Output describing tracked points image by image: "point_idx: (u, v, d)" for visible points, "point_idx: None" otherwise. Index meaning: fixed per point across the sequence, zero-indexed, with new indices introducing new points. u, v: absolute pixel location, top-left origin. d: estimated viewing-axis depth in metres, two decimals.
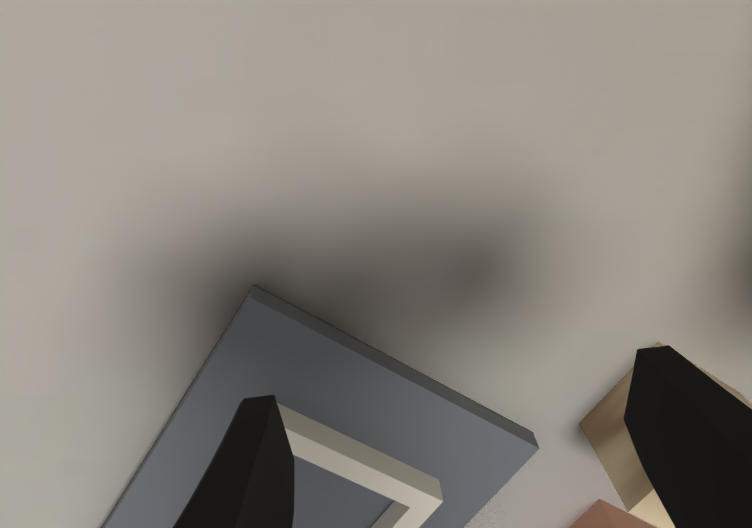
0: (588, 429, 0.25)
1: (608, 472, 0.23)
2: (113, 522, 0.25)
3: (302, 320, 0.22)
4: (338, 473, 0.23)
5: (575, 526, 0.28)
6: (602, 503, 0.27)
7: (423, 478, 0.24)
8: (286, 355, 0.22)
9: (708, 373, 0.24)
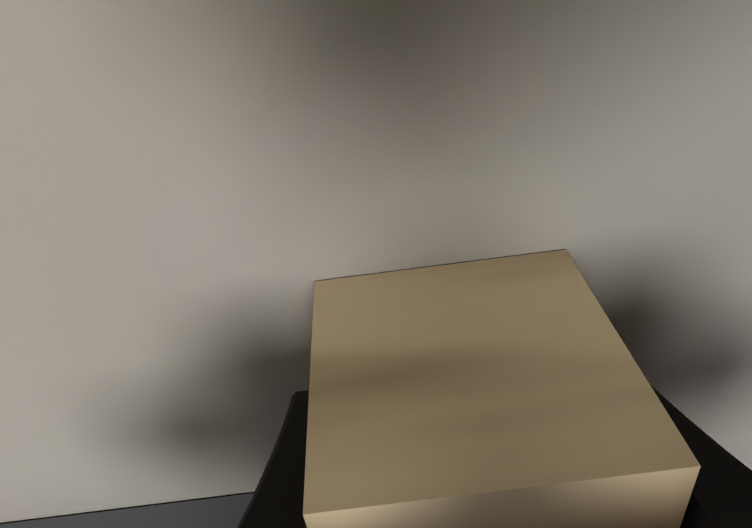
0: None
1: None
2: None
3: None
4: None
5: None
6: None
7: None
8: None
9: (463, 267, 0.11)
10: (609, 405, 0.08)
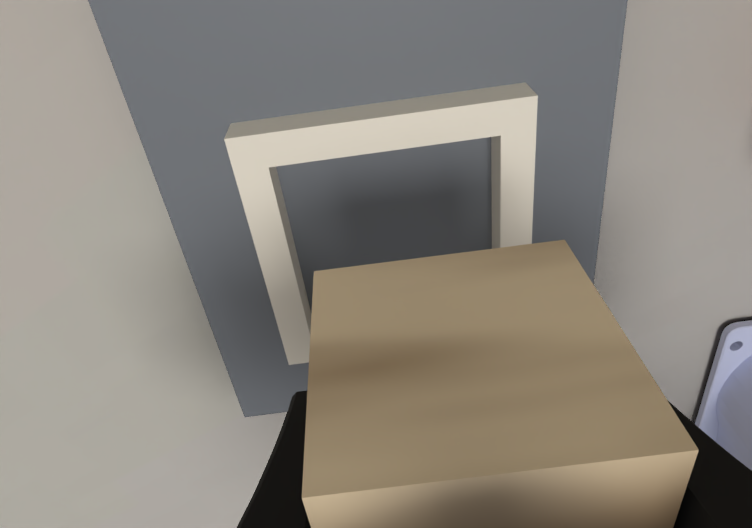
0: None
1: None
2: (232, 368, 0.22)
3: None
4: (373, 152, 0.16)
5: None
6: None
7: (497, 90, 0.16)
8: (198, 47, 0.15)
9: (463, 257, 0.11)
10: (608, 391, 0.08)
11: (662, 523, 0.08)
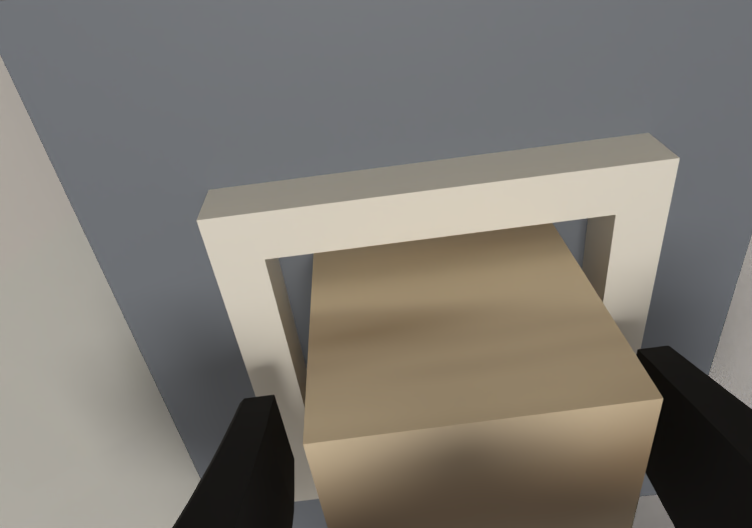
0: None
1: None
2: None
3: None
4: (423, 237, 0.11)
5: None
6: None
7: (610, 146, 0.11)
8: (156, 79, 0.10)
9: (453, 235, 0.12)
10: (583, 350, 0.09)
11: (634, 469, 0.09)
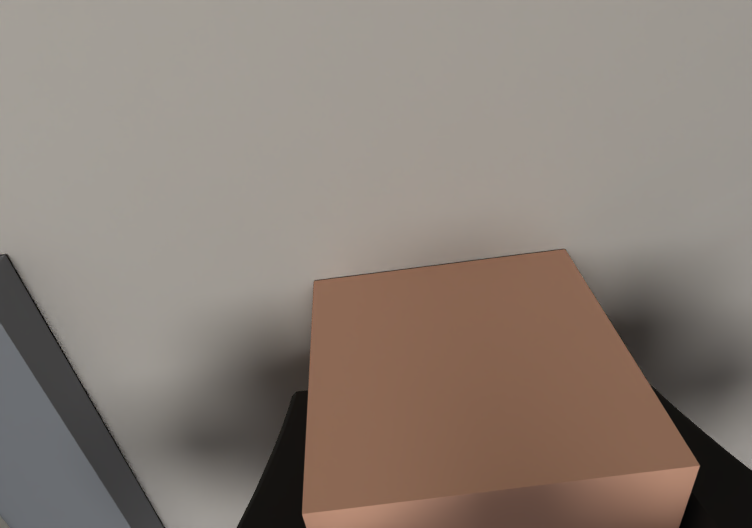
0: None
1: None
2: None
3: None
4: None
5: None
6: (314, 290, 0.11)
7: None
8: None
9: None
10: None
11: None
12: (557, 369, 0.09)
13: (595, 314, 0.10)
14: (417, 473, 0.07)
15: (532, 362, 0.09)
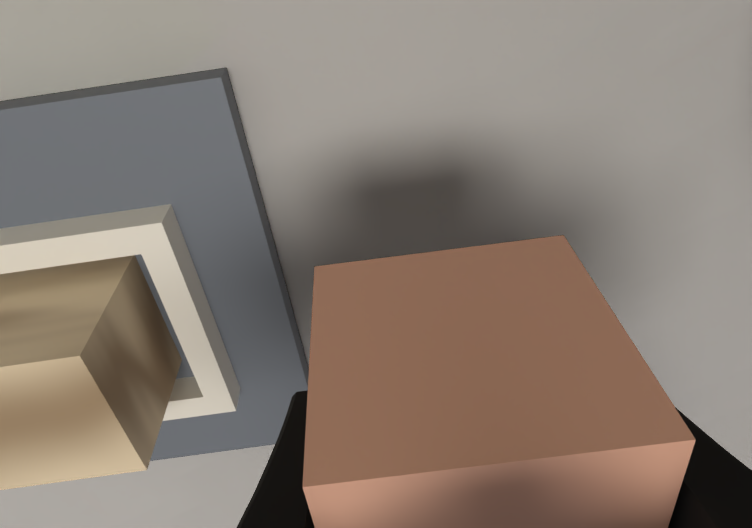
0: None
1: None
2: None
3: None
4: (31, 268, 0.18)
5: None
6: (314, 275, 0.11)
7: (140, 213, 0.18)
8: None
9: (73, 265, 0.19)
10: (70, 332, 0.16)
11: (97, 396, 0.16)
12: (555, 349, 0.09)
13: (593, 296, 0.10)
14: (416, 448, 0.07)
15: (530, 343, 0.09)
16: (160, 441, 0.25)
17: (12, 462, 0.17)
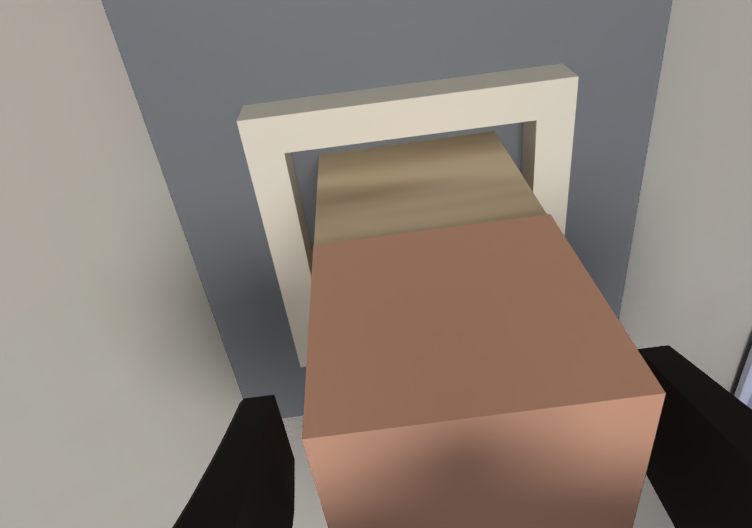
0: None
1: None
2: (238, 370, 0.21)
3: None
4: (398, 137, 0.15)
5: None
6: (313, 253, 0.12)
7: (533, 71, 0.15)
8: (209, 20, 0.14)
9: (422, 143, 0.16)
10: (503, 198, 0.13)
11: None
12: (539, 316, 0.09)
13: (576, 269, 0.10)
14: (408, 405, 0.08)
15: (516, 311, 0.09)
16: None
17: None
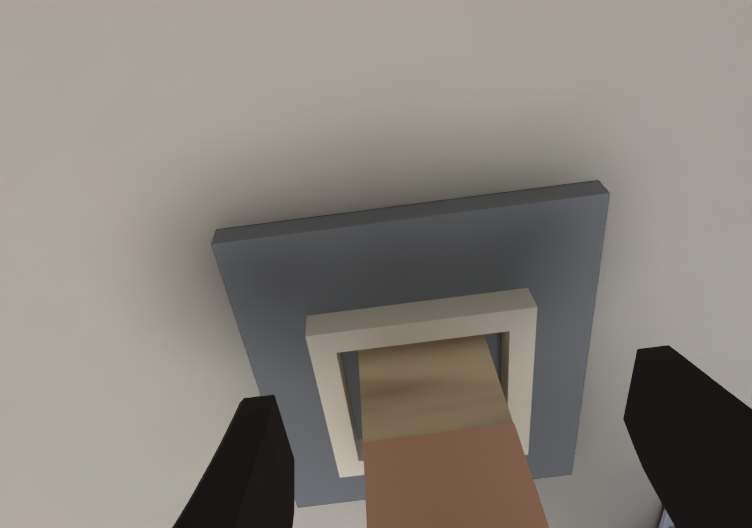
0: None
1: None
2: None
3: (274, 232, 0.20)
4: (415, 341, 0.21)
5: None
6: (363, 450, 0.18)
7: (507, 296, 0.22)
8: (287, 270, 0.21)
9: None
10: (485, 402, 0.20)
11: None
12: (502, 516, 0.16)
13: (526, 476, 0.17)
14: None
15: (489, 510, 0.16)
16: None
17: None
